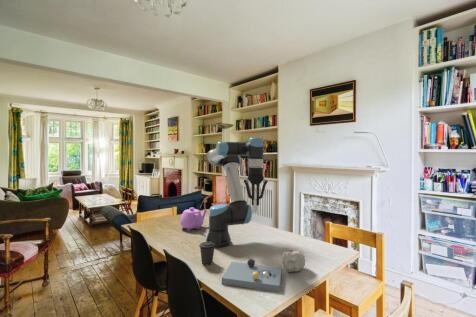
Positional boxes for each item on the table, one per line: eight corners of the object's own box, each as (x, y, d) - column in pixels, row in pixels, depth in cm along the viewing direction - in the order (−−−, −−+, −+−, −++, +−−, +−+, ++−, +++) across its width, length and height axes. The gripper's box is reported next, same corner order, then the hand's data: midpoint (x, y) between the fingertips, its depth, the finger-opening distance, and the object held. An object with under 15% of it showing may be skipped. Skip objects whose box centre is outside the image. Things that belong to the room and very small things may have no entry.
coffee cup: (217, 260, 125) (217, 240, 125) (212, 267, 117) (212, 246, 117) (202, 258, 127) (202, 239, 127) (196, 265, 119) (196, 245, 119)
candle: (286, 275, 109) (278, 264, 124) (310, 274, 110) (299, 264, 125) (285, 254, 110) (277, 246, 125) (309, 254, 111) (299, 245, 126)
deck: (221, 283, 103) (221, 277, 103) (231, 266, 118) (231, 261, 118) (279, 291, 97) (279, 285, 97) (281, 272, 113) (281, 267, 112)
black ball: (246, 267, 112) (246, 260, 112) (248, 264, 115) (248, 256, 115) (254, 268, 111) (254, 260, 111) (255, 265, 115) (255, 257, 115)
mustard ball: (251, 280, 101) (251, 273, 101) (252, 277, 104) (252, 270, 103) (258, 281, 100) (258, 274, 100) (259, 277, 103) (259, 270, 103)
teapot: (213, 229, 176) (213, 208, 176) (187, 234, 165) (187, 212, 165) (201, 222, 192) (201, 203, 192) (177, 226, 181) (177, 206, 181)
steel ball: (260, 280, 105) (262, 273, 104) (261, 275, 108) (262, 268, 108) (268, 283, 105) (270, 275, 104) (268, 278, 108) (270, 271, 108)
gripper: (242, 167, 127) (241, 212, 127) (267, 167, 124) (266, 213, 124) (245, 166, 134) (244, 209, 134) (269, 166, 131) (268, 210, 131)
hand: (255, 211), depth 129 cm, fingers closed
